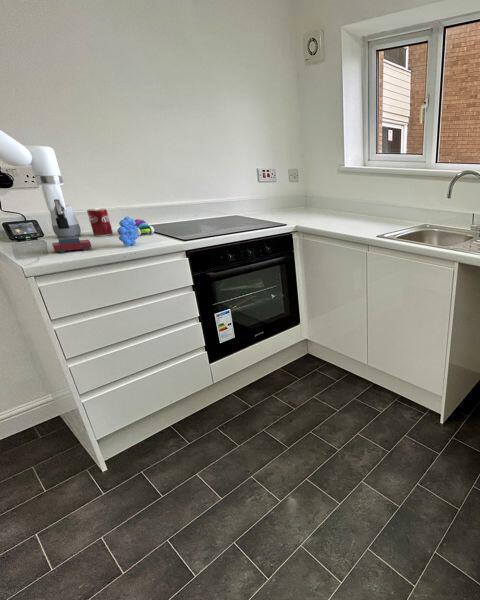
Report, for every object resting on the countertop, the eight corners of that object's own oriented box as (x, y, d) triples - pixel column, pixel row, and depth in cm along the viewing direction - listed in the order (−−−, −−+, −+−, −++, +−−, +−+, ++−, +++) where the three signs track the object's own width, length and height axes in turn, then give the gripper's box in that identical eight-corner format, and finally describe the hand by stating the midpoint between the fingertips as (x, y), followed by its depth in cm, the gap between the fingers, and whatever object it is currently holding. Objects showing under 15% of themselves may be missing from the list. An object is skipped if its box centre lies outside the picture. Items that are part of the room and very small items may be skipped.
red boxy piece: (54, 250, 138) (55, 253, 134) (50, 238, 136) (51, 240, 132) (90, 247, 145) (92, 249, 141) (87, 235, 143) (89, 237, 139)
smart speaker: (55, 236, 162) (45, 205, 157) (81, 233, 168) (72, 204, 163) (55, 239, 155) (45, 207, 150) (83, 237, 161) (73, 206, 156)
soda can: (112, 233, 172) (106, 208, 168) (113, 235, 167) (106, 209, 163) (93, 234, 168) (86, 208, 163) (94, 237, 163) (86, 210, 158)
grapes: (129, 242, 155) (122, 214, 151) (145, 242, 156) (139, 215, 151) (112, 248, 144) (104, 218, 140) (130, 248, 145) (122, 219, 141)
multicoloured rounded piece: (147, 231, 178) (143, 217, 175) (157, 234, 173) (154, 219, 170) (128, 234, 171) (124, 219, 168) (138, 236, 166) (134, 221, 164)
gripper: (34, 179, 137) (49, 226, 143) (37, 181, 127) (53, 232, 134) (60, 179, 142) (74, 225, 148) (64, 181, 132) (78, 230, 139)
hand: (64, 228), depth 141 cm, fingers closed
